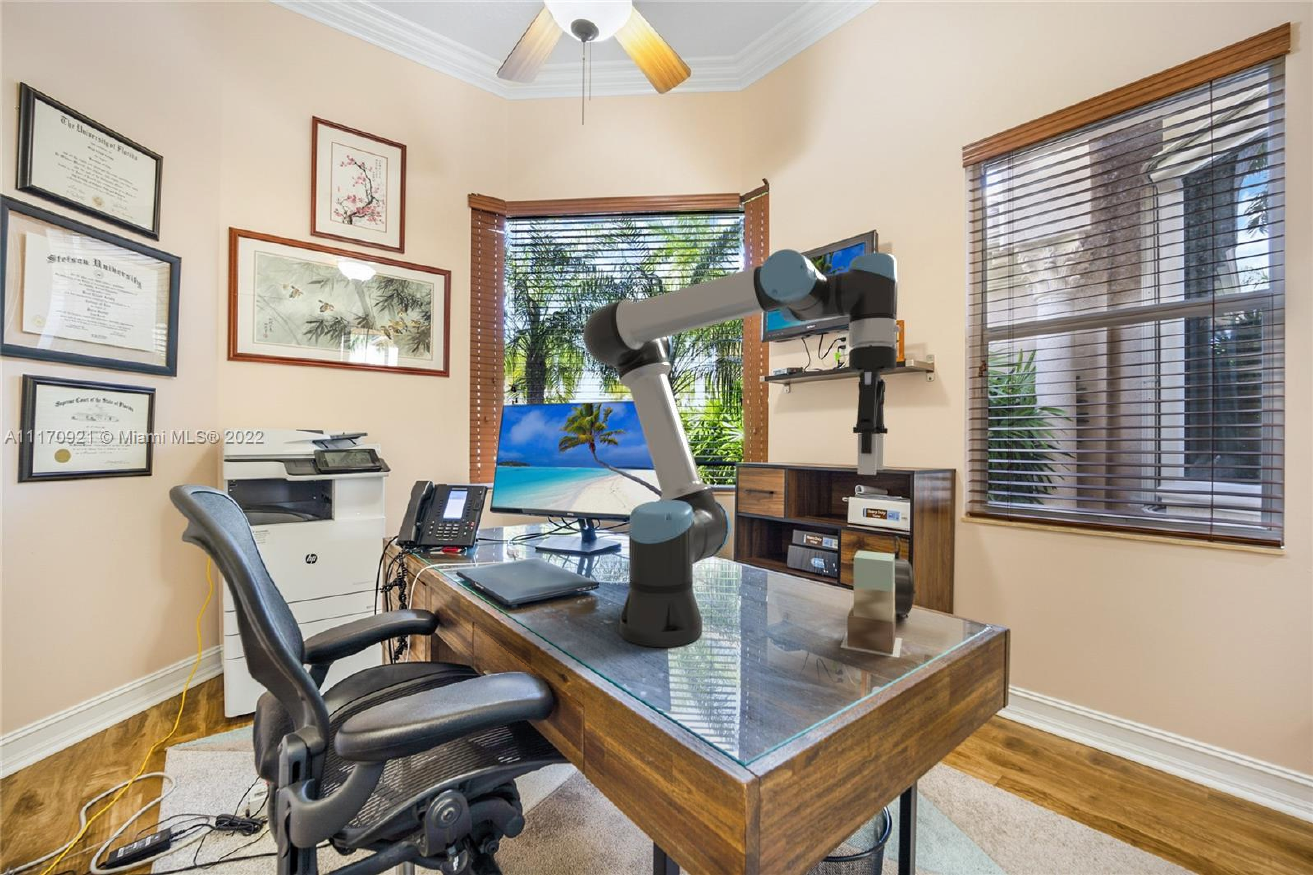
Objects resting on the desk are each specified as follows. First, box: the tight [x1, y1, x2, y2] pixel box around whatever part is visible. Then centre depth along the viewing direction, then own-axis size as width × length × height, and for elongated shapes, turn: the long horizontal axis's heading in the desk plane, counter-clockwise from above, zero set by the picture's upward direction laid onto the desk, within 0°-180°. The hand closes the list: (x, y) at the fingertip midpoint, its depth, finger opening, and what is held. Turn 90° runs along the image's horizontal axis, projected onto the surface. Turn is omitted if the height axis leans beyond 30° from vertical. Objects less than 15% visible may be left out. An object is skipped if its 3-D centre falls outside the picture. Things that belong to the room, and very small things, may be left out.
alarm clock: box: [893, 536, 916, 624], centre depth 104 cm, size 11×5×16 cm, turn 167°
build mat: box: [840, 632, 903, 659], centre depth 91 cm, size 9×9×1 cm
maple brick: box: [853, 583, 895, 623], centre depth 90 cm, size 6×6×5 cm
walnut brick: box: [846, 604, 897, 654], centre depth 91 cm, size 7×7×5 cm
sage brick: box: [853, 550, 895, 592], centre depth 90 cm, size 6×6×5 cm
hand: (871, 472), depth 91 cm, fingers open, 13 cm apart
